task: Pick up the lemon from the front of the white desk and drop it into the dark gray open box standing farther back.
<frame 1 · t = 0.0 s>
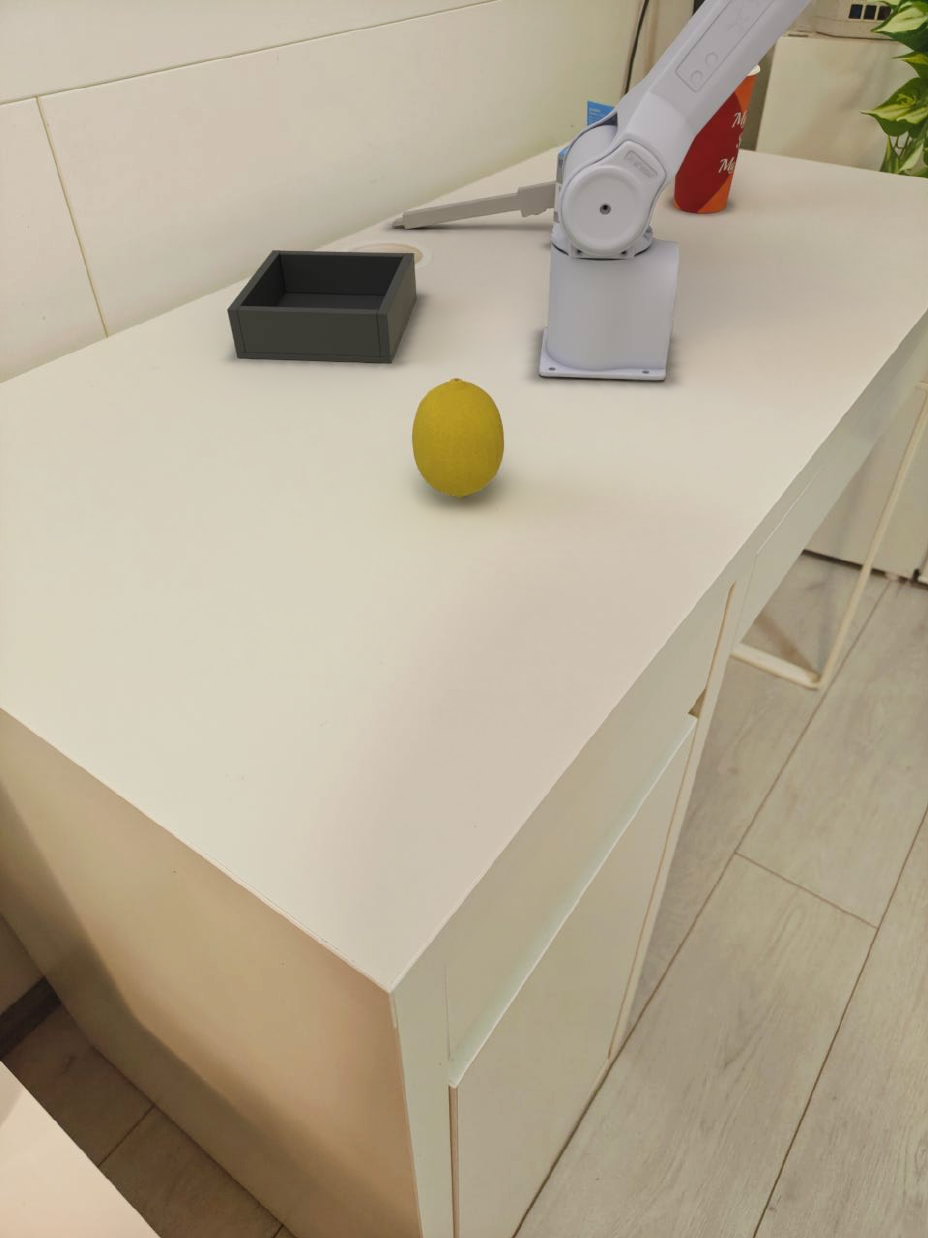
lemon: (460, 498, 56), on the table
paper cup: (699, 206, 95), on the table
label tape box: (595, 255, 85), on the table
dark gray open box: (331, 326, 74), on the table
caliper: (489, 231, 91), on the table
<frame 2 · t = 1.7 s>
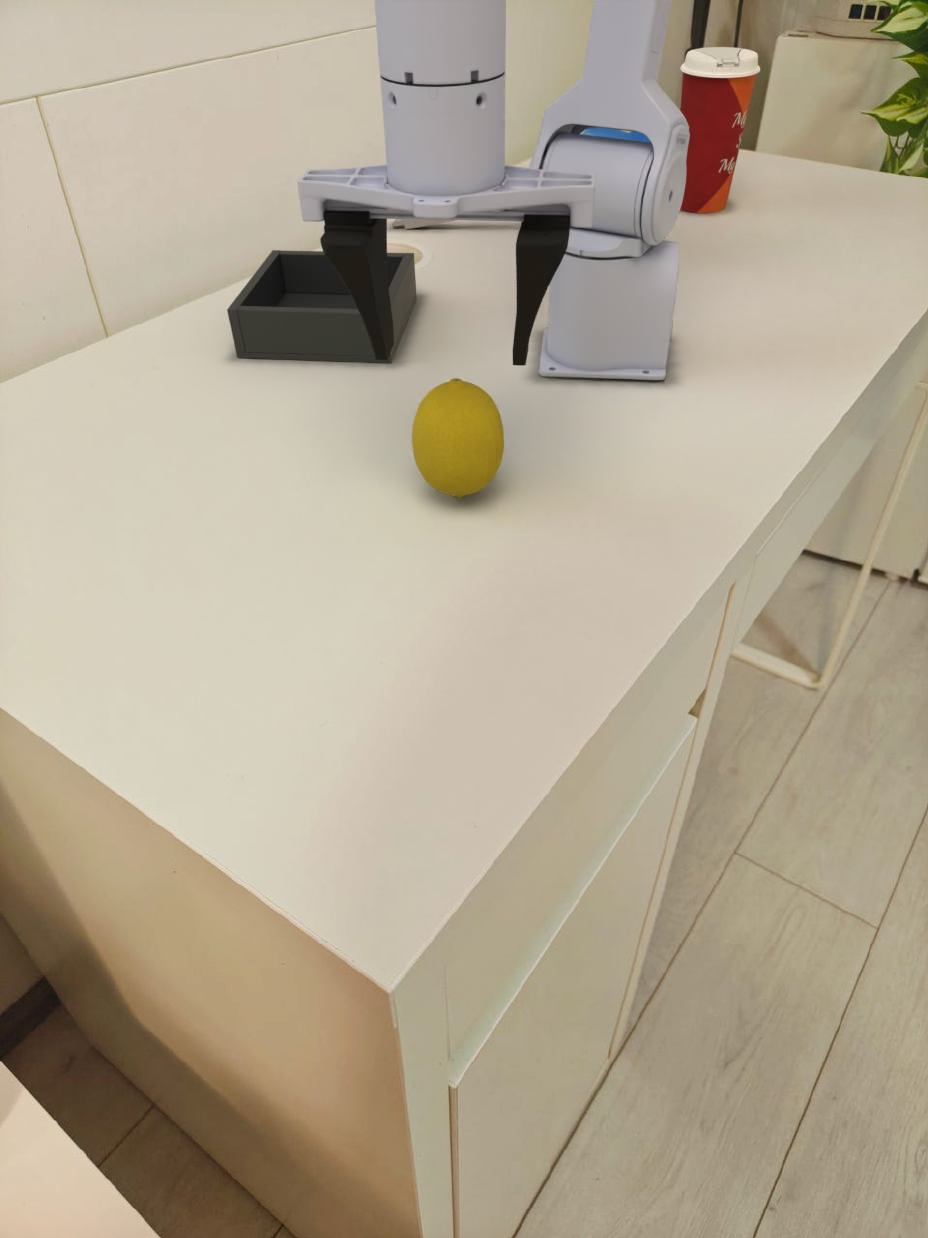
hand: (451, 354, 49), 10 cm above the table, tool pointing down, fingers open, 7 cm apart
nothing on the table moved.
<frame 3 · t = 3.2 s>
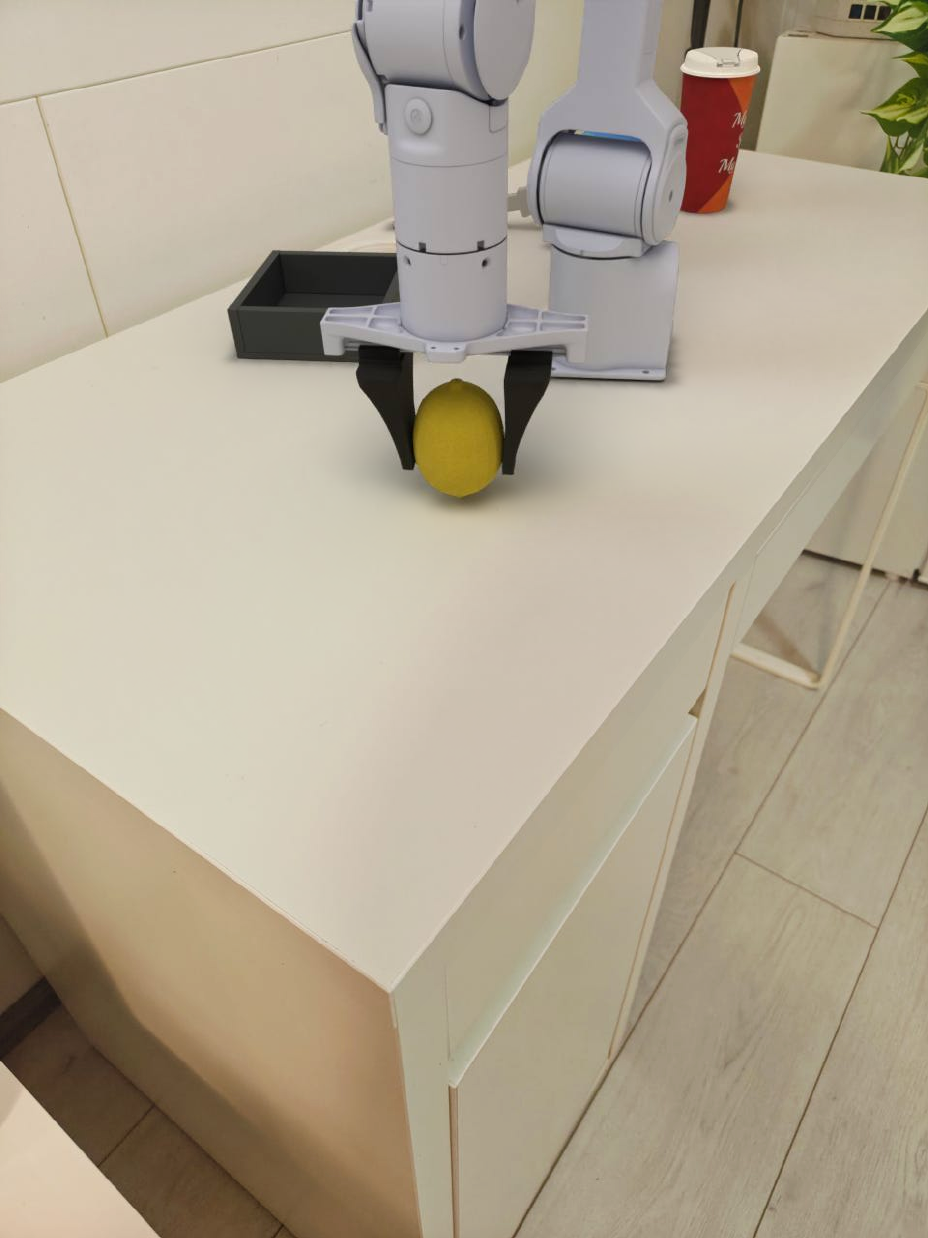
hand: (458, 463, 54), 2 cm above the table, tool pointing down, fingers closed on lemon, 5 cm apart
lemon: (460, 498, 56), on the table, touching gripper
everything else where it was.
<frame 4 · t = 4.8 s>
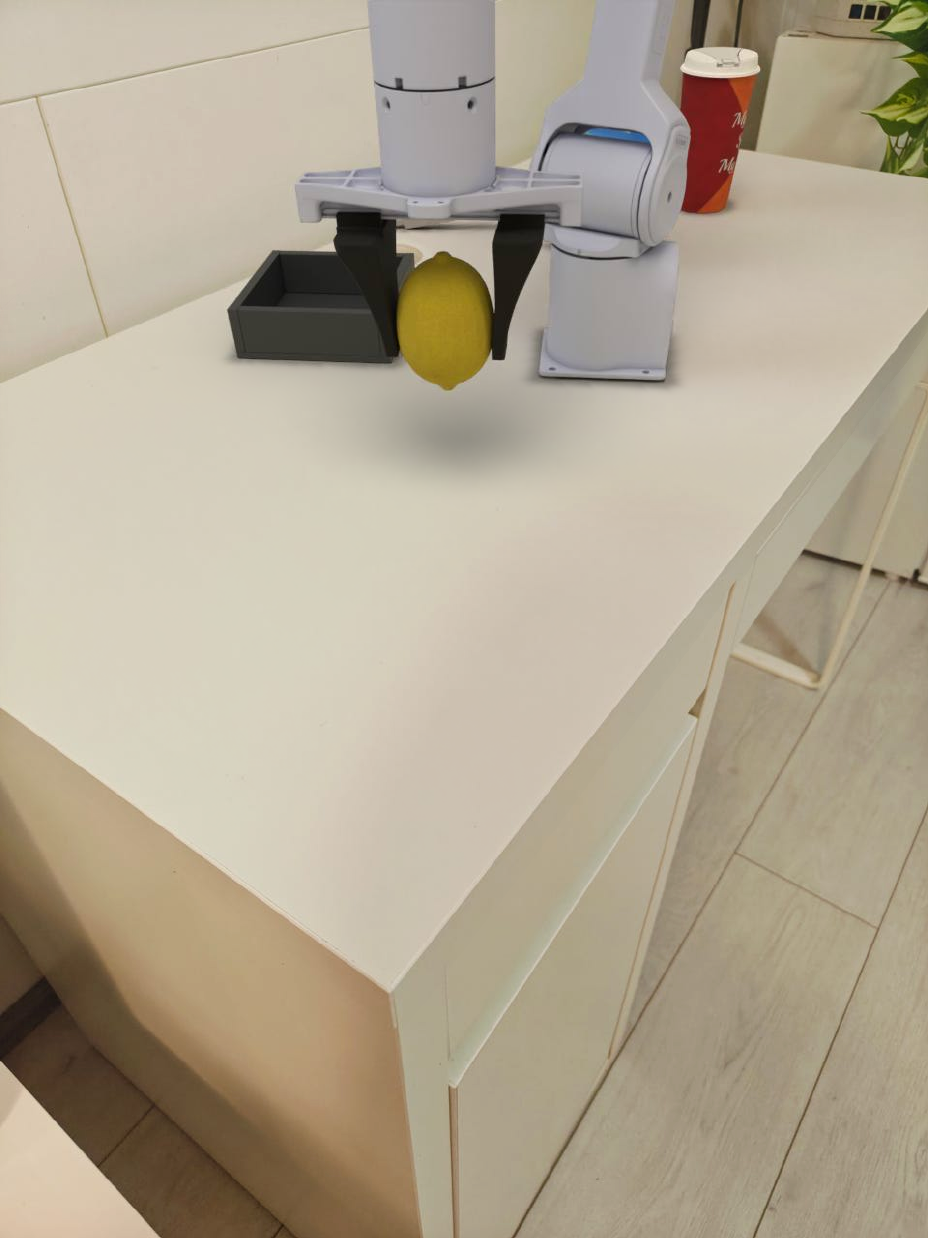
hand: (446, 350, 50), 9 cm above the table, tool pointing down, fingers closed on lemon, 5 cm apart
lemon: (448, 392, 52), point 6 cm above the table, touching gripper
everything else where it was.
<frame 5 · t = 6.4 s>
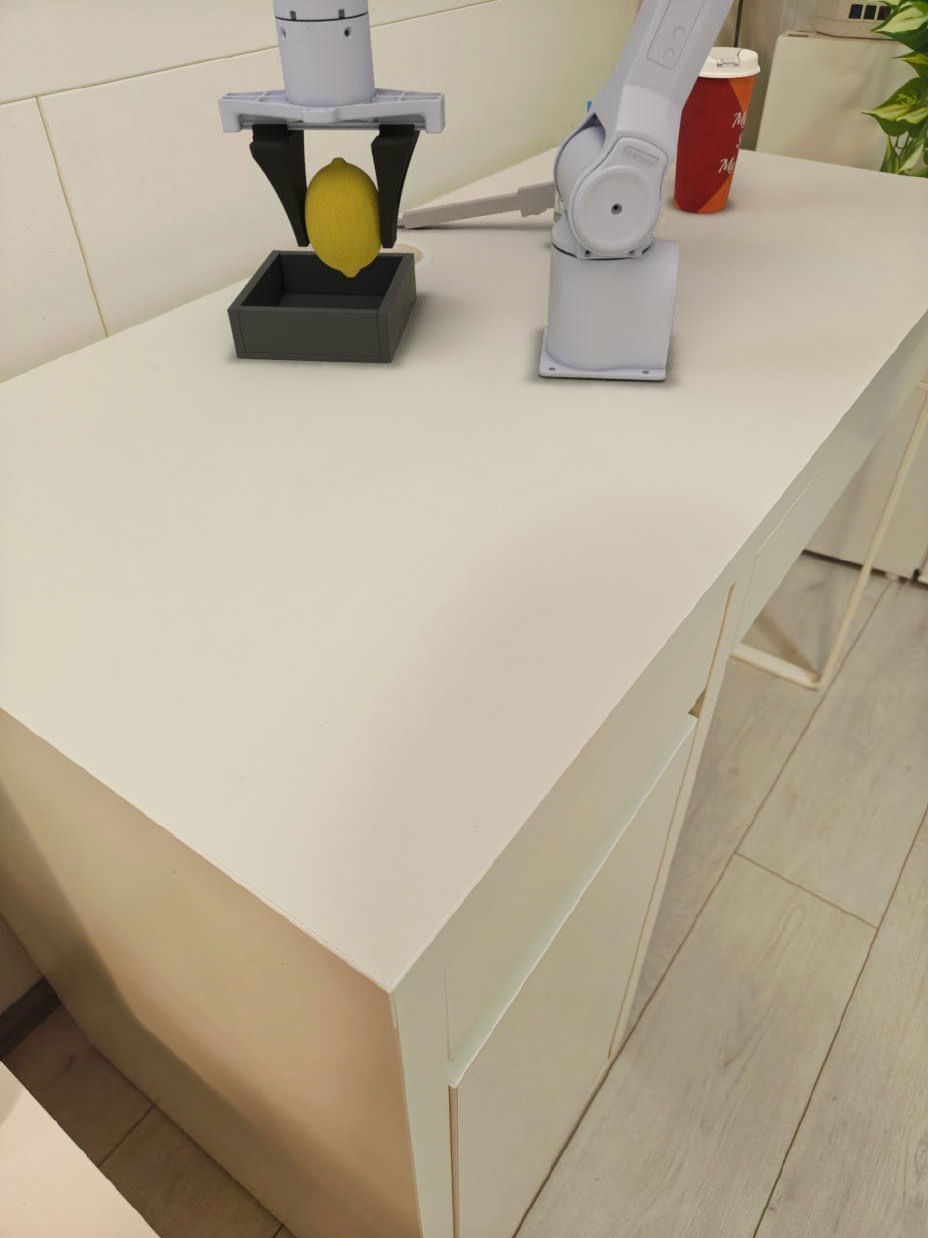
hand: (347, 242, 63), 9 cm above the table, tool pointing down, fingers closed on lemon, 5 cm apart
lemon: (351, 279, 64), point 7 cm above the table, touching gripper
everything else where it was.
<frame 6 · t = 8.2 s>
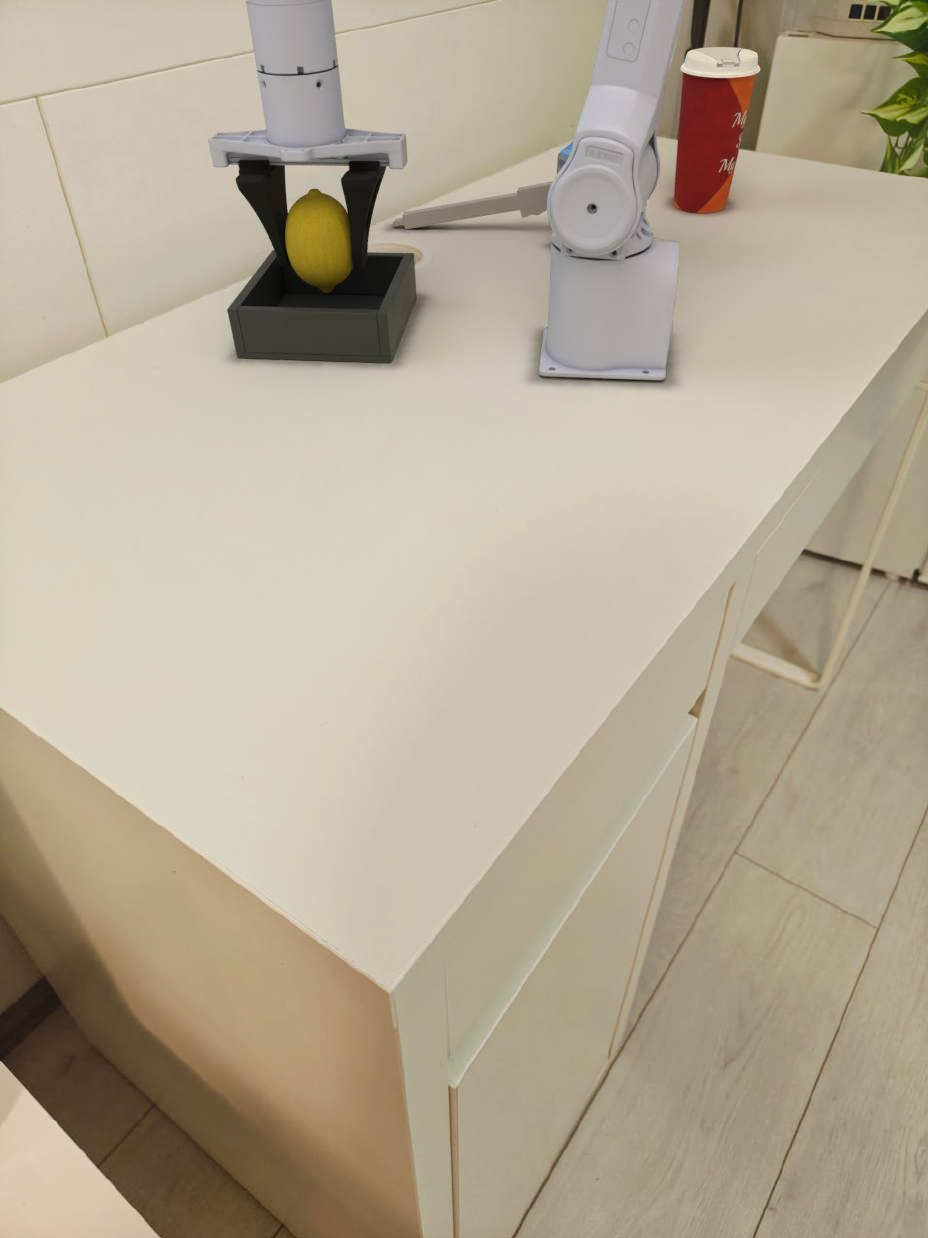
hand: (323, 262, 71), 5 cm above the table, tool pointing down, fingers closed on lemon, 5 cm apart
lemon: (327, 294, 72), point 3 cm above the table, touching gripper
everything else where it was.
when the fingers open (3 cm above the table, at t = 9.6 s): lemon stays where it is, resting on dark gray open box.
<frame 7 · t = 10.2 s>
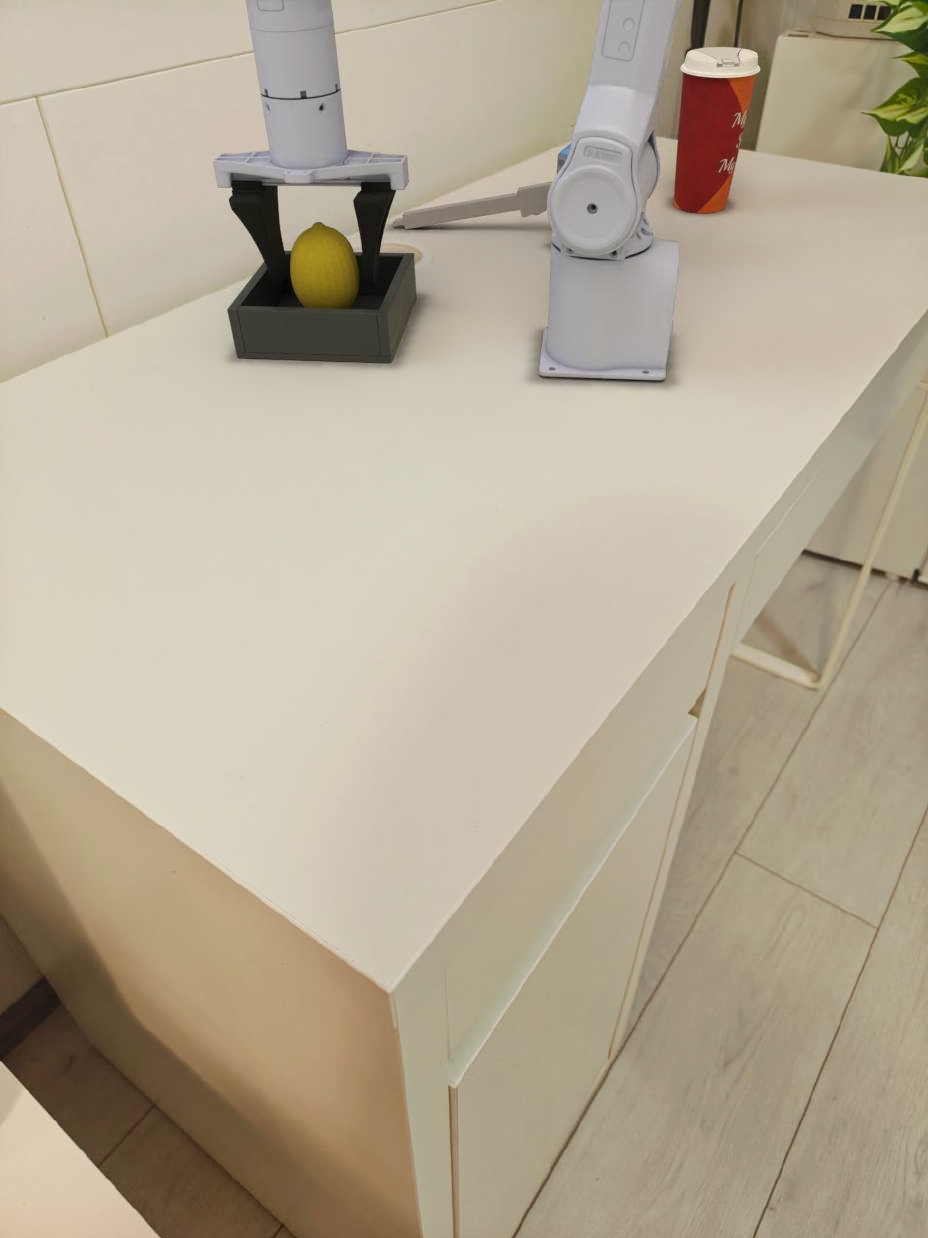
hand: (325, 280, 72), 4 cm above the table, tool pointing down, fingers open, 7 cm apart
lemon: (331, 323, 74), resting on dark gray open box
everything else where it was.
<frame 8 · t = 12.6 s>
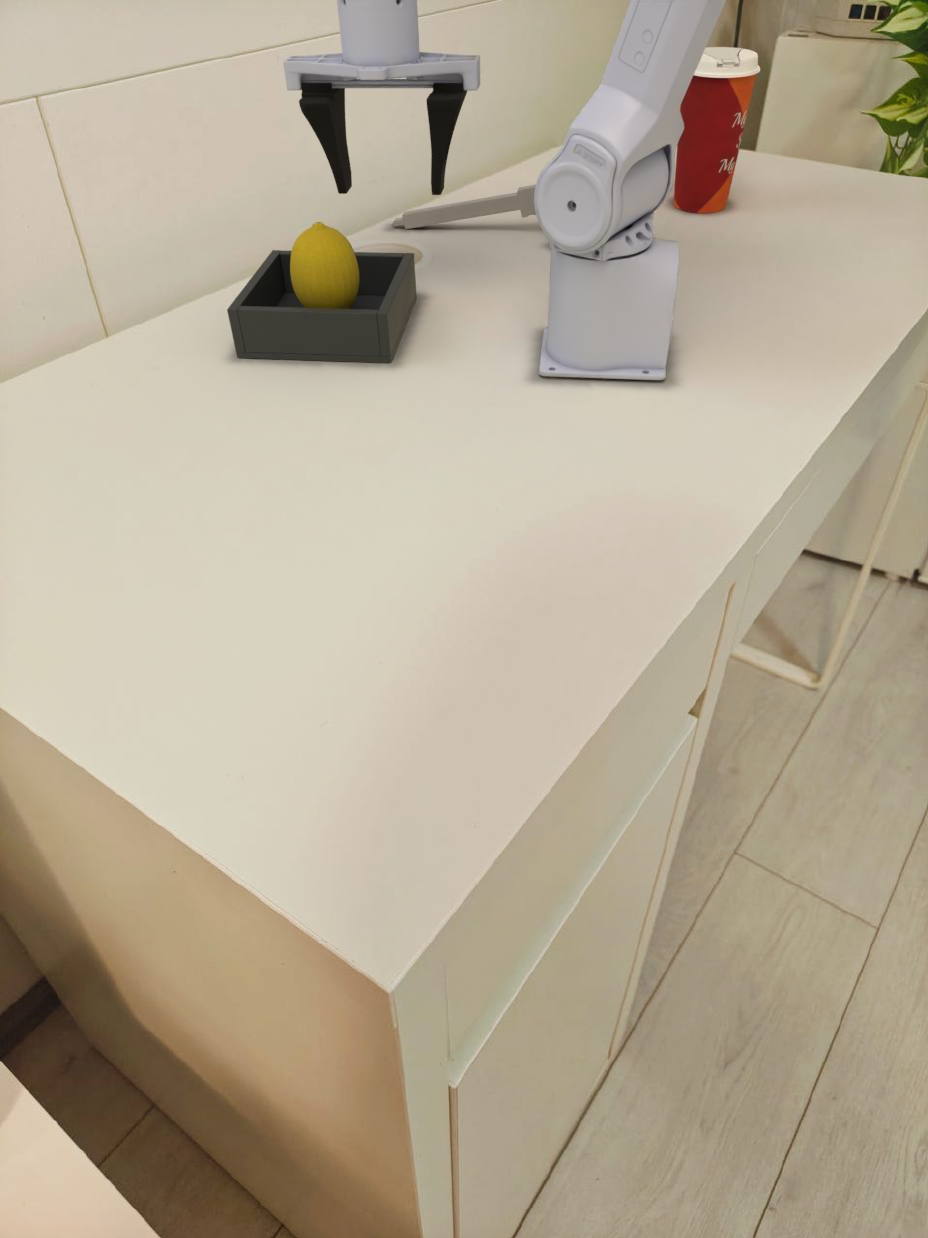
hand: (391, 190, 71), 9 cm above the table, tool pointing down, fingers open, 7 cm apart
nothing on the table moved.
at the end: lemon inside the target area in the dark gray open box (0.0 cm from its centre), point 0.3 cm above the dark gray open box's base; the gripper is holding nothing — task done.
